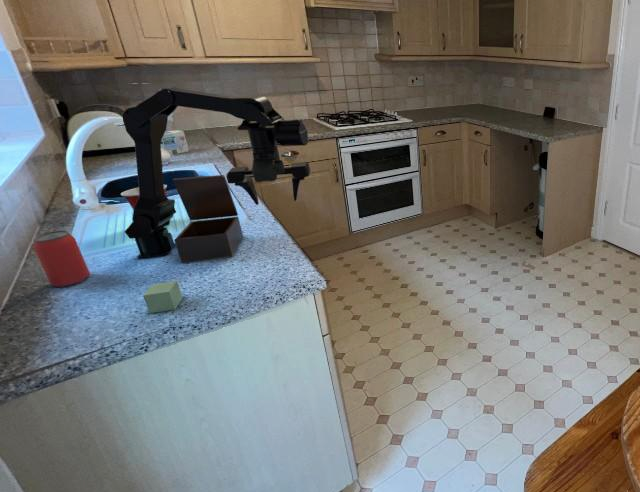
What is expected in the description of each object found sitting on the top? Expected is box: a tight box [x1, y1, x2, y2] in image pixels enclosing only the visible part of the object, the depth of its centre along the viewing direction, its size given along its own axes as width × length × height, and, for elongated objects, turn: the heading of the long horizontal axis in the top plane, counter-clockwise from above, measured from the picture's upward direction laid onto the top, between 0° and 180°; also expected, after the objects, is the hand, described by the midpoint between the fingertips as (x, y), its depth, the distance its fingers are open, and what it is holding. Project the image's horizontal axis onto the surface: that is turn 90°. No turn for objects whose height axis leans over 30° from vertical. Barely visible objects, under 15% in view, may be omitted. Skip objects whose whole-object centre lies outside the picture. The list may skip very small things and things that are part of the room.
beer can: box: [33, 229, 91, 288], centre depth 94 cm, size 7×7×12 cm
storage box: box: [173, 216, 244, 264], centre depth 111 cm, size 12×11×7 cm
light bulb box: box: [161, 129, 190, 156], centre depth 205 cm, size 11×7×11 cm, turn 159°
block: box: [142, 280, 184, 314], centre depth 87 cm, size 4×4×4 cm
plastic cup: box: [120, 183, 168, 211], centre depth 124 cm, size 11×11×12 cm
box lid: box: [172, 174, 239, 222], centre depth 113 cm, size 13×11×5 cm
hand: (276, 202), depth 110 cm, fingers open, 9 cm apart
